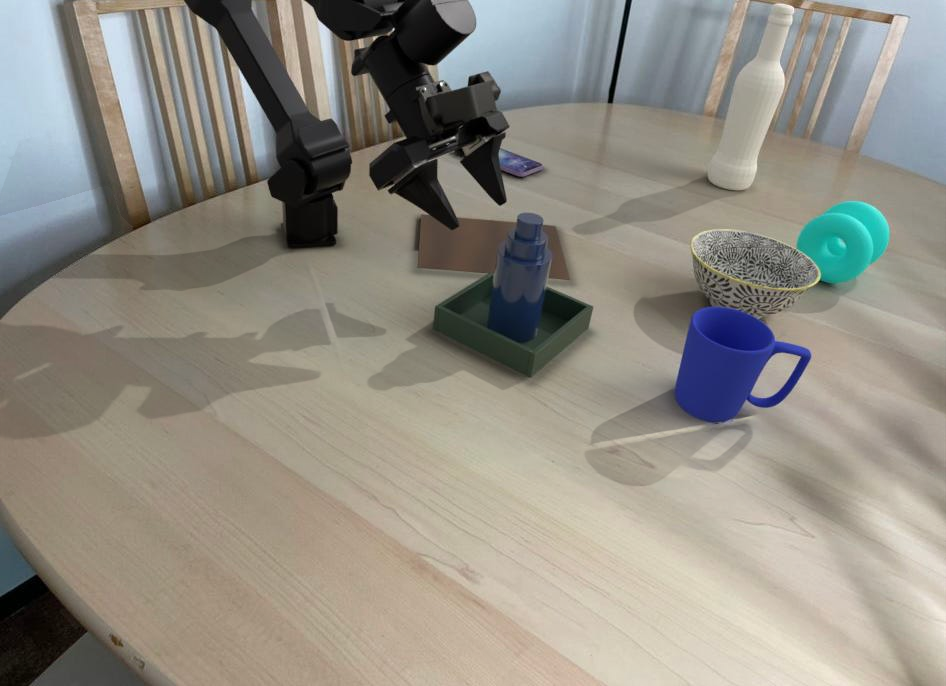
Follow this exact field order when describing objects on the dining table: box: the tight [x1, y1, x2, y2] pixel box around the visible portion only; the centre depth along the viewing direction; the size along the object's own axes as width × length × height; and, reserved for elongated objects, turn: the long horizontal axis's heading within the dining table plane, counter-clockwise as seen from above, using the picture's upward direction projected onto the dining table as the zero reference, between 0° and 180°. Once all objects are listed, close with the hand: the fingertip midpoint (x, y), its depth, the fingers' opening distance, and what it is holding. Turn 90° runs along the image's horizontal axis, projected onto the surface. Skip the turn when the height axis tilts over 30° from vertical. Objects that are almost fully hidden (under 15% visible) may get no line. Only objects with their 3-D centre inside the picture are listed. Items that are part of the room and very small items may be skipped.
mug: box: [674, 306, 812, 424], centre depth 76 cm, size 8×12×10 cm
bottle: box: [707, 2, 795, 192], centre depth 126 cm, size 8×8×30 cm
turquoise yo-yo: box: [795, 200, 890, 284], centre depth 106 cm, size 10×10×10 cm
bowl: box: [689, 228, 821, 320], centre depth 95 cm, size 16×16×8 cm
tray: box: [432, 270, 594, 378], centre depth 86 cm, size 13×13×4 cm
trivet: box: [417, 213, 571, 281], centre depth 103 cm, size 20×16×1 cm
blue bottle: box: [487, 212, 552, 343], centre depth 82 cm, size 6×6×14 cm
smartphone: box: [499, 147, 544, 177], centre depth 131 cm, size 7×1×15 cm
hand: (480, 215), depth 82 cm, fingers open, 9 cm apart
